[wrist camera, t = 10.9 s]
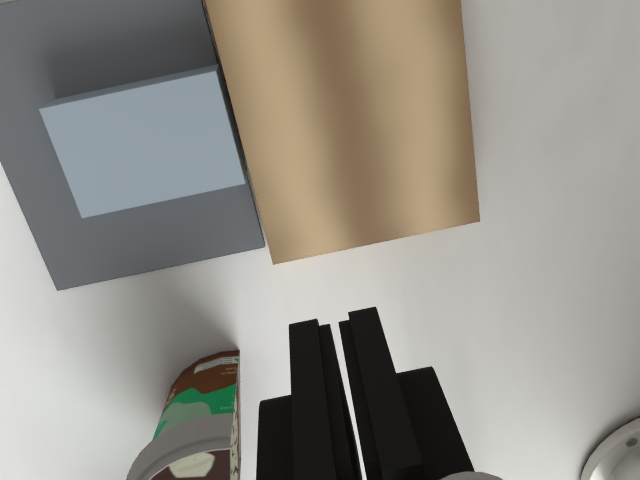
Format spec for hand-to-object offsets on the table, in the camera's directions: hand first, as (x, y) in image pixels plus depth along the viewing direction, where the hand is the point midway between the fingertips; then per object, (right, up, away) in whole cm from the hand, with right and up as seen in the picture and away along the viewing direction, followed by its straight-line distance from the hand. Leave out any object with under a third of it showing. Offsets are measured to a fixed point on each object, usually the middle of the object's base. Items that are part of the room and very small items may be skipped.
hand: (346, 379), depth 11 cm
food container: (-9, -9, +30) cm, 33 cm away
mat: (-12, +8, +22) cm, 26 cm away
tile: (-10, +8, +22) cm, 25 cm away
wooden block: (+1, +11, +22) cm, 25 cm away
